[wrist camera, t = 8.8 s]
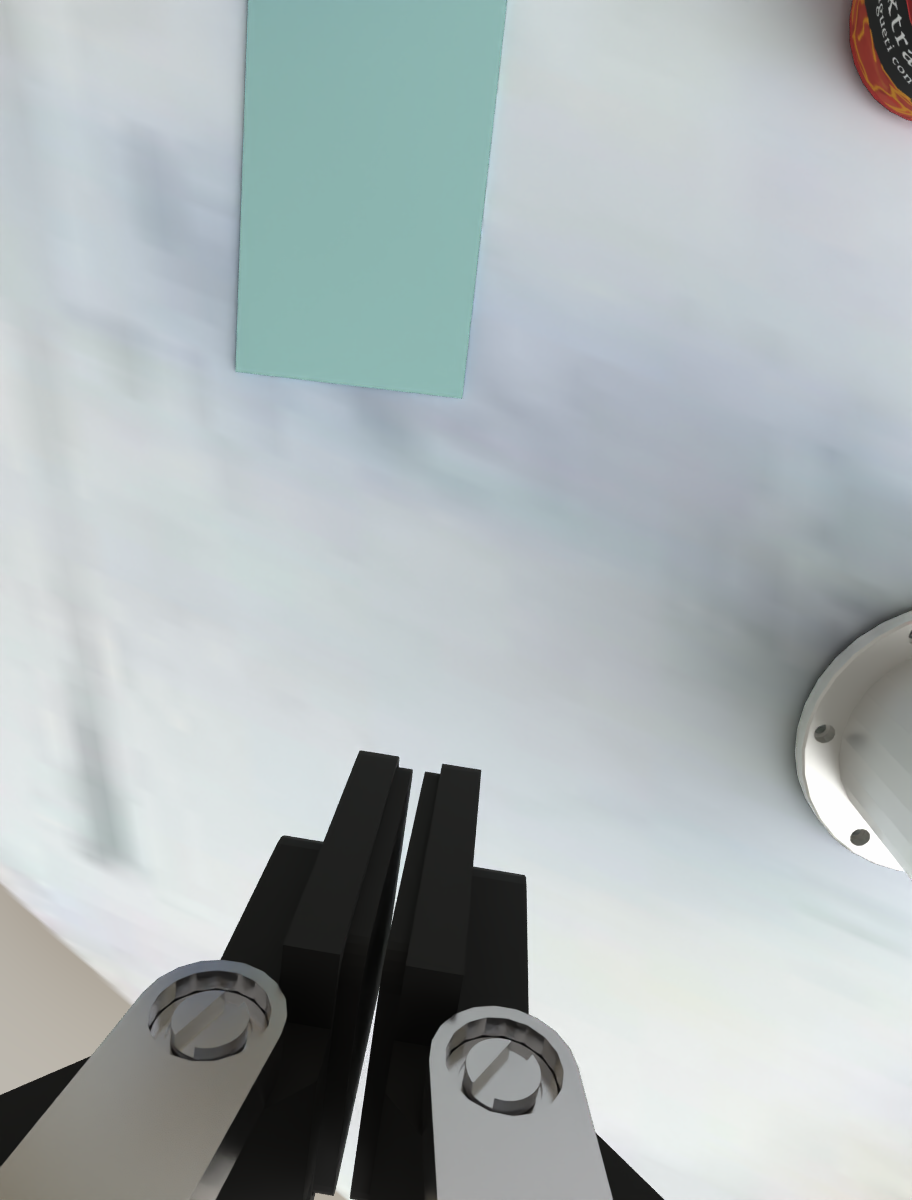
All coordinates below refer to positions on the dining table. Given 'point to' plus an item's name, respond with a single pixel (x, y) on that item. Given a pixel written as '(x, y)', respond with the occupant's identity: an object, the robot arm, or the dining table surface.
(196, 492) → the dining table surface
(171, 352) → the dining table surface
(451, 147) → the panel
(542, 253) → the dining table surface
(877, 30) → the canned food
